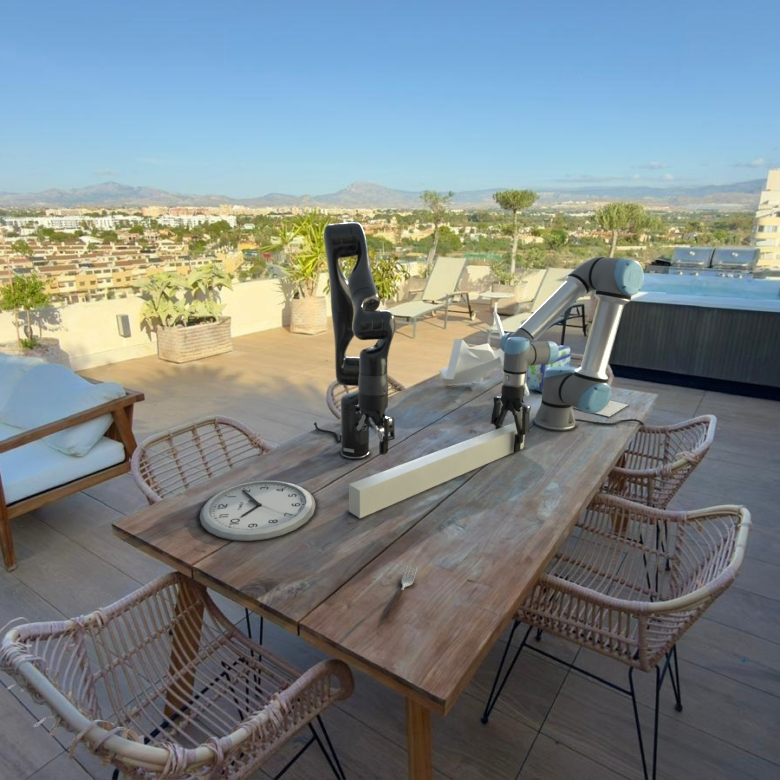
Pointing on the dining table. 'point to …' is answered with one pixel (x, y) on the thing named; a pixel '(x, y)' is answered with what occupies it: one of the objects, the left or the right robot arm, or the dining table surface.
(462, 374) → the white plastic object
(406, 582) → the fork
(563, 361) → the lunch box
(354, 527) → the dining table surface
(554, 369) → the right robot arm
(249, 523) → the wall clock
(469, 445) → the post
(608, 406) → the invitation card
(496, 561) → the dining table surface
